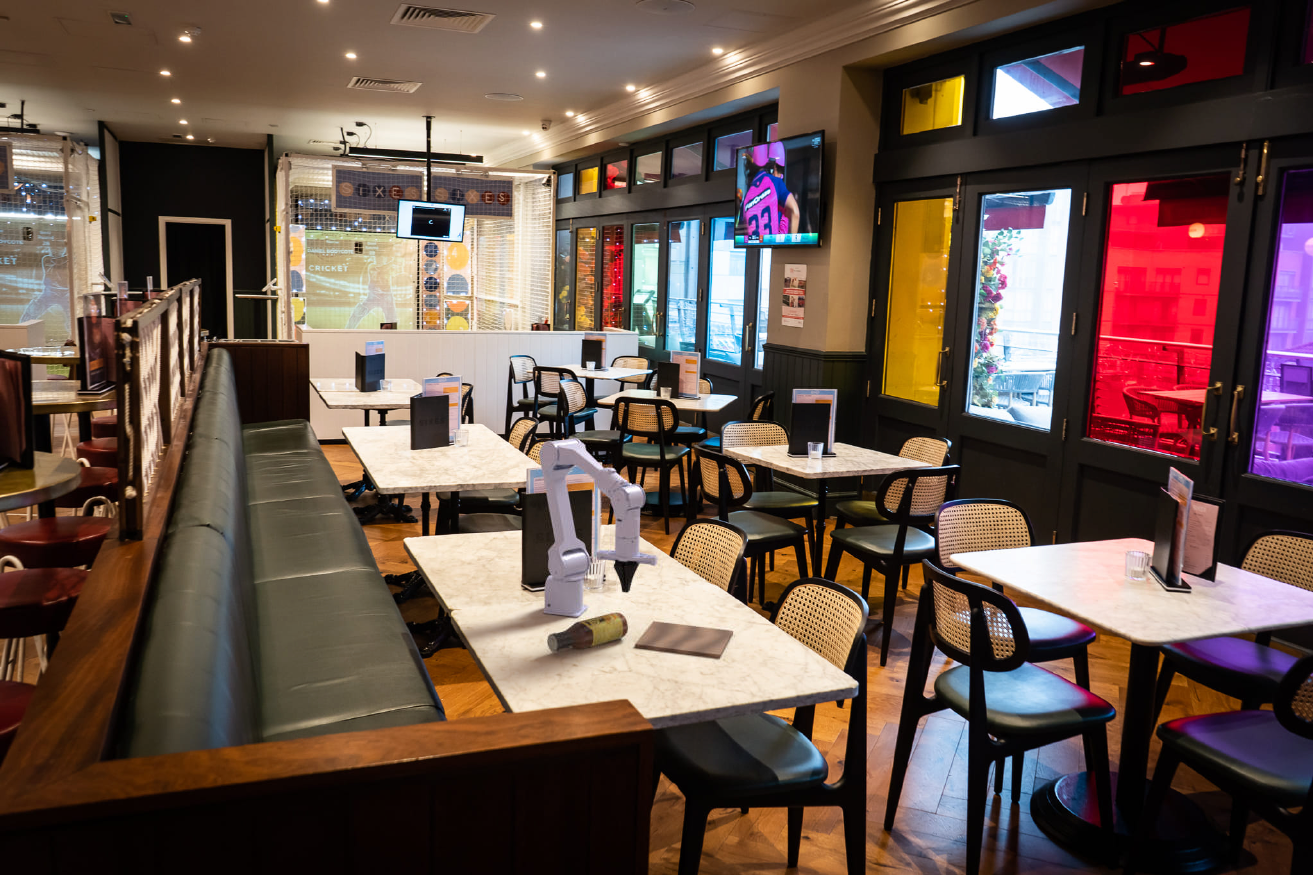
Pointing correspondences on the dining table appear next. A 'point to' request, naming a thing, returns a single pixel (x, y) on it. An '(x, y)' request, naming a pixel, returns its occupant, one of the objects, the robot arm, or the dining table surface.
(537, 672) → the dining table surface
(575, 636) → the sauce bottle
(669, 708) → the dining table surface
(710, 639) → the walnut board
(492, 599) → the dining table surface
